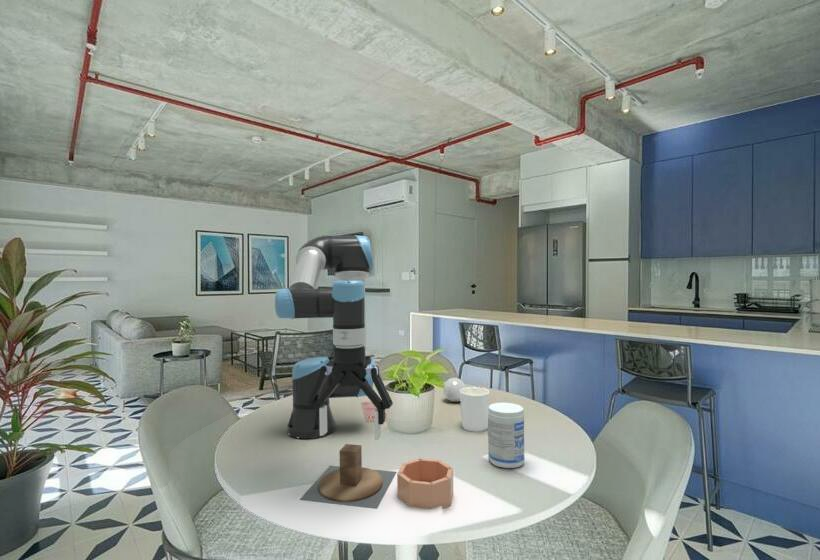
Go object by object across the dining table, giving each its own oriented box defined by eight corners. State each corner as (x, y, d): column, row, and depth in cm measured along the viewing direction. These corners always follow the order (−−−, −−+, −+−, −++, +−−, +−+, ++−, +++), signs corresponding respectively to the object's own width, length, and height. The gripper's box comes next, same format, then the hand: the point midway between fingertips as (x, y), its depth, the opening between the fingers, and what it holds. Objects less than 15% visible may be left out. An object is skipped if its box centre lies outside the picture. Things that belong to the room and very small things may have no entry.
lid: (307, 498, 94) (306, 458, 94) (333, 467, 109) (333, 433, 109) (371, 505, 91) (371, 464, 91) (389, 473, 106) (389, 438, 106)
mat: (299, 504, 94) (299, 499, 94) (330, 469, 110) (330, 465, 110) (377, 513, 90) (376, 508, 90) (396, 475, 106) (396, 471, 106)
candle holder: (488, 422, 144) (488, 387, 144) (491, 433, 134) (490, 395, 134) (459, 421, 145) (459, 386, 145) (460, 432, 135) (459, 395, 135)
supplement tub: (523, 472, 108) (523, 414, 108) (486, 467, 111) (485, 411, 110) (525, 456, 117) (524, 403, 117) (490, 452, 120) (490, 400, 120)
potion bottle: (441, 402, 170) (478, 410, 167) (439, 394, 163) (478, 401, 159) (445, 381, 175) (482, 387, 171) (443, 372, 167) (481, 378, 164)
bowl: (393, 508, 92) (393, 480, 92) (406, 481, 103) (405, 457, 103) (448, 514, 89) (448, 486, 89) (455, 486, 101) (454, 461, 101)
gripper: (293, 347, 99) (294, 437, 99) (396, 349, 93) (397, 445, 93) (307, 342, 106) (308, 426, 106) (404, 344, 101) (405, 433, 101)
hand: (350, 435), depth 100 cm, fingers open, 13 cm apart
